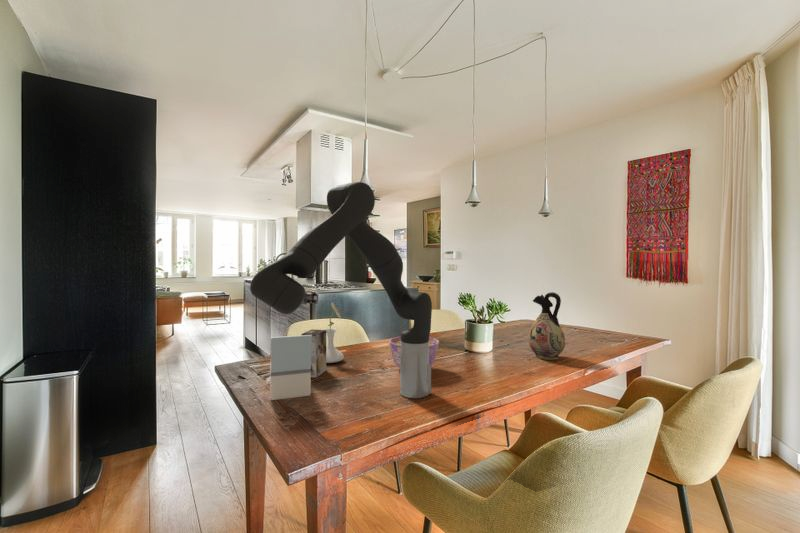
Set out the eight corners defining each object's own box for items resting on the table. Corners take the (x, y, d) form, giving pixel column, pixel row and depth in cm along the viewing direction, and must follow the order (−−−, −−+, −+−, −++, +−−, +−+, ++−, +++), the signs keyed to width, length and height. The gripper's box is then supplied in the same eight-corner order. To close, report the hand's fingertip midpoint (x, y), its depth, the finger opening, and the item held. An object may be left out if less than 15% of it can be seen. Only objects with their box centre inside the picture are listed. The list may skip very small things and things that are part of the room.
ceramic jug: (521, 357, 163) (522, 291, 163) (537, 351, 174) (538, 289, 173) (559, 365, 151) (560, 294, 150) (574, 358, 161) (575, 292, 161)
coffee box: (311, 369, 142) (311, 329, 142) (326, 370, 141) (327, 329, 141) (300, 376, 133) (300, 333, 133) (316, 377, 132) (317, 334, 132)
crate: (306, 384, 125) (306, 358, 125) (310, 395, 115) (310, 367, 114) (270, 388, 121) (270, 361, 121) (270, 400, 110) (270, 371, 110)
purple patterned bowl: (385, 376, 134) (385, 345, 134) (392, 361, 154) (392, 334, 154) (438, 378, 132) (439, 347, 132) (439, 363, 152) (439, 336, 152)
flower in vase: (341, 365, 148) (341, 305, 148) (313, 365, 148) (314, 304, 148) (346, 357, 161) (346, 301, 161) (321, 356, 161) (321, 301, 161)
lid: (311, 334, 113) (311, 335, 112) (310, 367, 115) (310, 368, 114) (270, 337, 109) (270, 338, 108) (270, 371, 110) (270, 372, 110)
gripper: (317, 281, 91) (319, 287, 107) (258, 278, 88) (269, 284, 104) (315, 311, 90) (317, 312, 106) (255, 309, 87) (266, 310, 103)
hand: (293, 298), depth 105 cm, fingers open, 8 cm apart
